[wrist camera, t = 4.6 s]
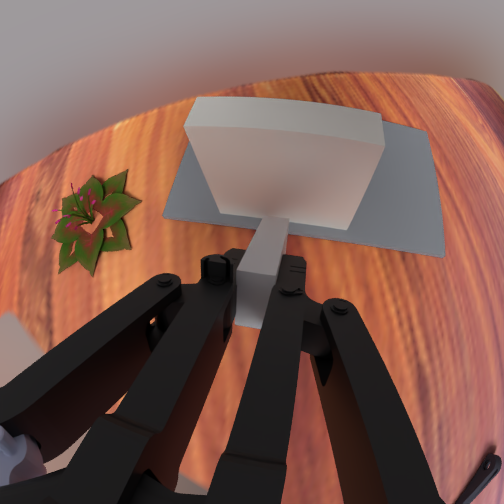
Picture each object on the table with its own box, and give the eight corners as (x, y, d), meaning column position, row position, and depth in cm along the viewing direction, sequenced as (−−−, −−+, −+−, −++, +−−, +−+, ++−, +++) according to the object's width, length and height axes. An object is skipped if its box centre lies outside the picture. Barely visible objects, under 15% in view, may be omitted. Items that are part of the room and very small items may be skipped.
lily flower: (152, 263, 23) (126, 244, 19) (52, 293, 23) (21, 281, 19) (143, 157, 27) (125, 129, 23) (57, 195, 27) (34, 175, 23)
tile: (348, 200, 22) (380, 110, 13) (346, 230, 21) (385, 146, 12) (227, 185, 23) (198, 93, 14) (220, 213, 23) (183, 126, 13)
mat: (425, 134, 24) (426, 131, 24) (442, 258, 20) (445, 256, 19) (206, 106, 28) (205, 102, 27) (164, 218, 24) (162, 215, 23)
